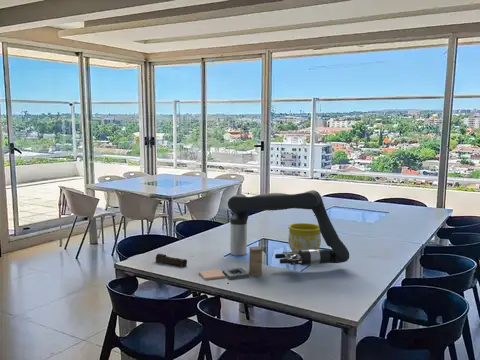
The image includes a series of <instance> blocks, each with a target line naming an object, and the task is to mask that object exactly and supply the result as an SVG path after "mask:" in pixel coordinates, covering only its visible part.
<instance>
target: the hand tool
mask: <svg viewBox="0 0 480 360" xmlns="http://www.w3.org/2000/svg"><path fill="white" fill-rule="evenodd" d="M155 262H157V263H161V264H171V265H174V266H179V267H182V268H186V267H187V265H188V260H187V259H186V258H185V259H183V258H179V257H171V256H168V255H166V254H163V253H157V254H156V256H155Z"/></svg>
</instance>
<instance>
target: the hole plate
mask: <svg viewBox="0 0 480 360" xmlns="http://www.w3.org/2000/svg"><path fill="white" fill-rule="evenodd" d="M221 272H222V273H223V274H224V275H225V278H227V279H228V280H234V279H235V280H237V279H244V278H249V277H250V273H249V272H247V271H246V270H245V269H244V268H242V267H237V268H228V269H226V268H225V269H222V271H221Z"/></svg>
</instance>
